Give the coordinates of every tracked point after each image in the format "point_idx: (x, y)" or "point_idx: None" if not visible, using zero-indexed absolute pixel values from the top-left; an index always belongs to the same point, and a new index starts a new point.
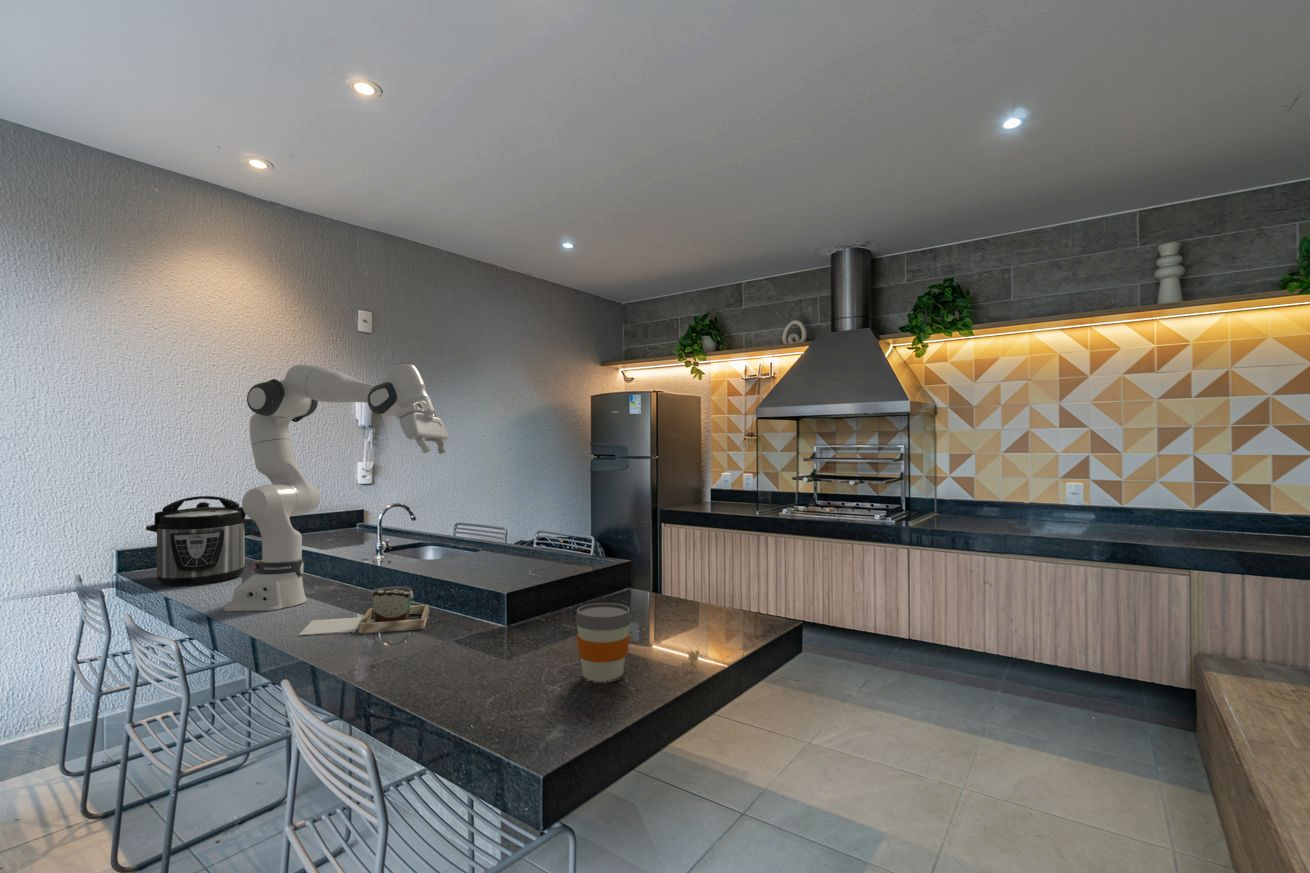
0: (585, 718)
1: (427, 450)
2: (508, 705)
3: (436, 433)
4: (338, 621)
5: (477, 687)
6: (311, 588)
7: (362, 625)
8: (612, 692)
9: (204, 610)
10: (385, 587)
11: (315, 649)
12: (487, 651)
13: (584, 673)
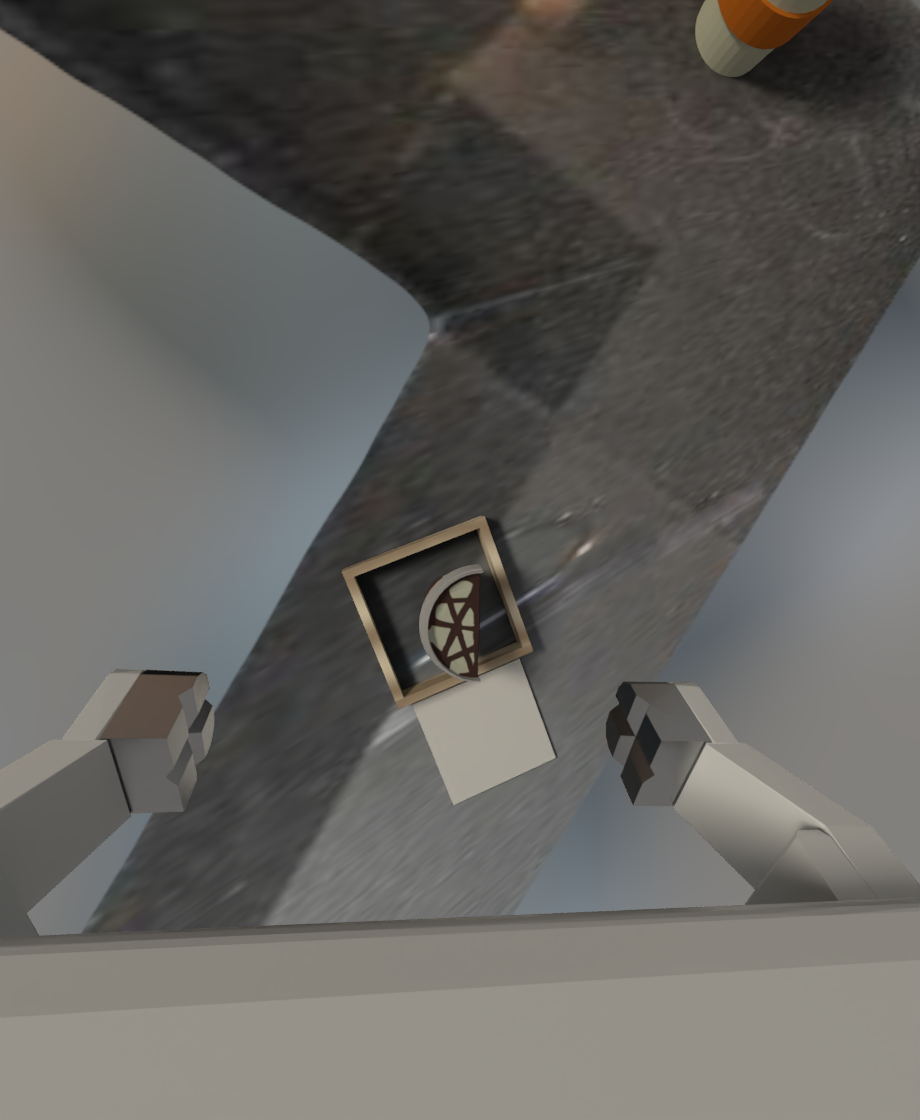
0: (883, 61)
1: (693, 692)
2: (844, 199)
3: (245, 1063)
4: (456, 741)
5: (782, 273)
6: None
7: (529, 642)
8: None
9: None
10: (442, 665)
11: (626, 667)
12: (615, 310)
13: (758, 62)
